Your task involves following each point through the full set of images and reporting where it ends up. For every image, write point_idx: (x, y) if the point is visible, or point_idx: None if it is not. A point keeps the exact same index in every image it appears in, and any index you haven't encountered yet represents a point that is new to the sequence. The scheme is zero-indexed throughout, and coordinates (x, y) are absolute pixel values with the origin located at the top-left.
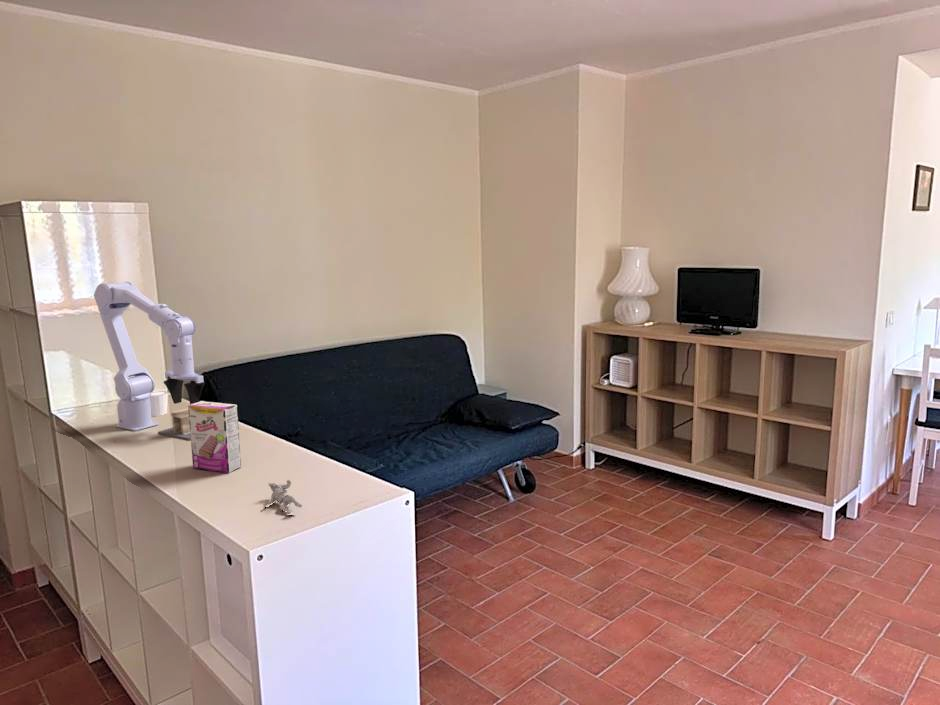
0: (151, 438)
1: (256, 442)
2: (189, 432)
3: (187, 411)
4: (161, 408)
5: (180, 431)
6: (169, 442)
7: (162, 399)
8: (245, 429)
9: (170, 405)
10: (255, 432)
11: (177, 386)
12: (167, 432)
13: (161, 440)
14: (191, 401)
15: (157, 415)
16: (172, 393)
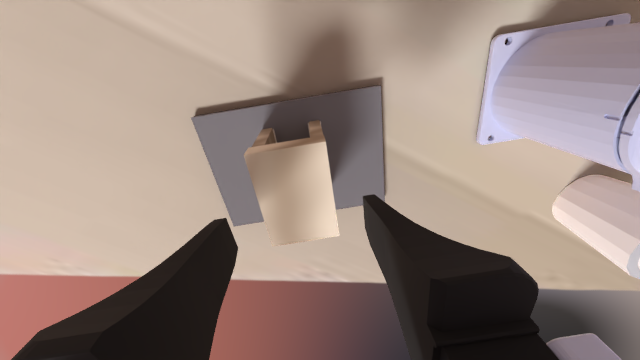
0: (338, 29)
1: (31, 235)
2: None
3: (275, 198)
4: (578, 213)
5: None
6: (223, 50)
7: (610, 239)
8: None
9: None
10: None
11: (401, 300)
12: (337, 104)
13: (277, 42)
14: (194, 237)
15: (566, 189)
16: (384, 226)
